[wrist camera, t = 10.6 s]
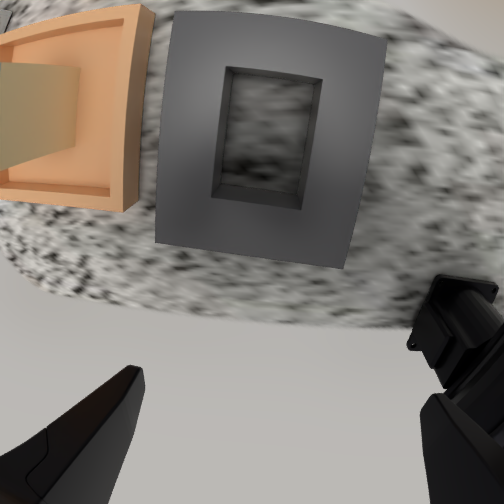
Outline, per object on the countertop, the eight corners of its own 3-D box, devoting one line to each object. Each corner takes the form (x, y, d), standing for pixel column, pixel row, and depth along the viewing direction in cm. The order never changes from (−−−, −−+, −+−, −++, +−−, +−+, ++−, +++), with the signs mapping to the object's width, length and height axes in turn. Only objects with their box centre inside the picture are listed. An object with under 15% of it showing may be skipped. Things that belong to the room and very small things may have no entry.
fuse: (80, 67, 15) (-14, 62, 8) (75, 146, 17) (-17, 177, 10) (44, 72, 15) (-49, 74, 8) (40, 146, 17) (-50, 176, 10)
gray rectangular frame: (370, 49, 14) (387, 40, 12) (333, 246, 19) (343, 269, 17) (189, 24, 14) (174, 11, 12) (171, 223, 19) (155, 242, 17)
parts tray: (155, 13, 14) (140, 3, 12) (138, 200, 19) (122, 212, 17) (13, 39, 14) (-7, 37, 12) (8, 189, 19) (-12, 198, 17)
